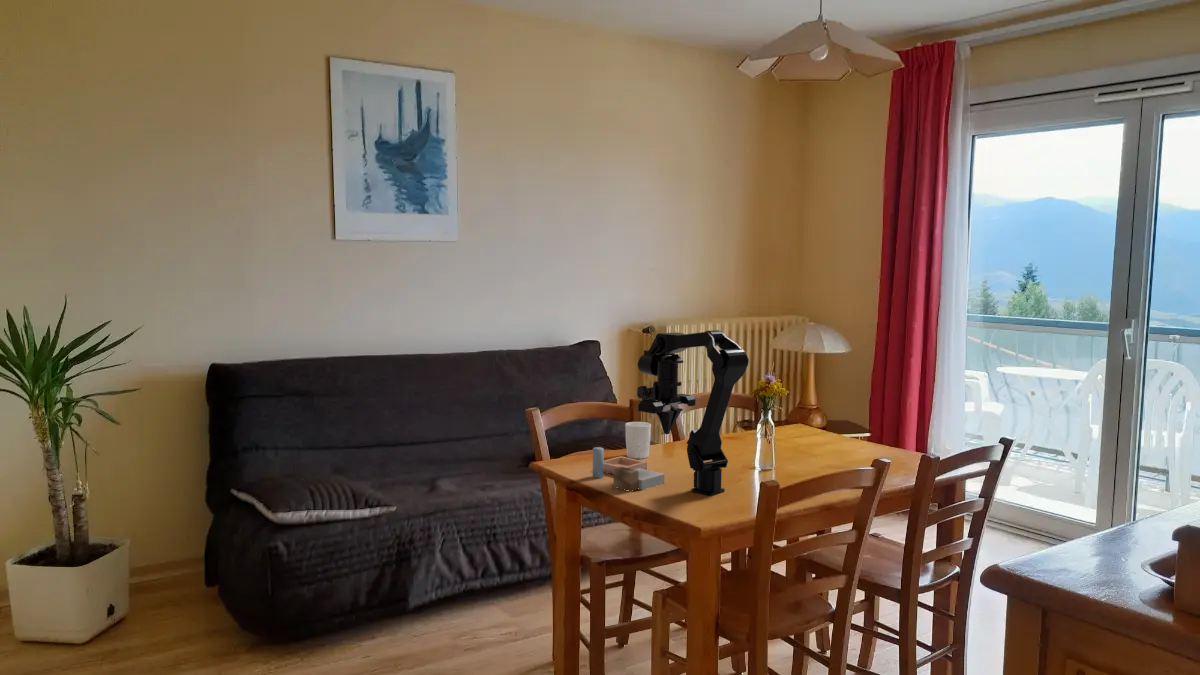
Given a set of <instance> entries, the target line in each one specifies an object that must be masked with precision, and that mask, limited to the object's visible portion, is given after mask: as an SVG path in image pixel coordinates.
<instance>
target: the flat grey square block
mask: <svg viewBox="0 0 1200 675" xmlns="http://www.w3.org/2000/svg"><path fill="white" fill-rule="evenodd" d="M634 470H638V488H639V489H638V490H640V489H642V490H641V491H643V489H644V490H647V489H646V488H648V489H650V488H649V487H651V488H654V487H653V486H655V487H657V486H656V485H658V486H661V485H664V484H665V473H662V472H657V471H652V470H649V469H647V470H645V469H641V468H638V469H634ZM660 484H661V485H660Z"/></svg>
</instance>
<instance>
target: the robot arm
mask: <svg viewBox="0 0 1200 675" xmlns="http://www.w3.org/2000/svg"><path fill="white" fill-rule="evenodd" d="M701 347H705V348H706V354H707V358H708V360H710V362H711V363H712V367H711V371H712V374H713V378H714V381H713V384H712V388H711V391H710V394H709V398H708V402H707V405H706V409H705V411H704V414H703V418H702V421H701V424H700V427H699V428H698V429H693V430H690V432H689V435H688V436H689V437H688V440H687V442H686V444H687V446H686V452H687V458H688V463H689V464H688V465H689V468H690V469H692V470H693V488H691V489H690V491H692V492H695V493H698V494H702V495H707V496H713V495H717V494H720V493H722V492H725V491H726V490H725V488H723V487H722V470H723V468H727V466H728V462H729V460H728V459H727V456H726V455H725V452H724V451H723V449H722V442H723V441H722V438H721V435H720V431H721V428H722V424H723V421H724V419H725V415H726V411H727V408H728V405H729V402H730V399H731V396H732V394H733V393H732V392H733V389H734V386H735V384H736V383H737V382H738V381H739V380H741V379H742V377H743V376H744V374H745V372H746V370H747V368H748V366H749V359H750V358H749V357H748V355H747V353H746V351H745V350H744V349H743V348H742V347H741V346H740V344H738V343H737V342H735V341H733V340H732V339H731V338H729V337H728V336H727V335H726V334H725V333H724V332H723V331H721V330H718V329H714V330H706V331H703V332H702V331H701V332H694V333H687V334H685V333H683V332H676V331H675V332H660V333H659V332H658V333H656V334H655V338H654V339H653V341H652V343H651V345H650V347H649V349H645V350H643V354H642V355H641V356H640V357H639V359H638V361H637V368H638V370H639V372H640V373H642V374H645V375H649V376H655V377H657V378H656V381H653V383H652V387H651V386H650V387H647V385H641V386H638V387H637V391H636V394H637V395H636V396H637V397H638V399H641V400H639V402H638V403H637V411H638V412H641V413H642V412H643V413H648V414H656V416H658V419H659V421H660V424H661V427H662V430H663V433H664V435H669V434H670V432H672V429H673V427H674V424H676V421H677V419H678V417H679V416H680V414H681V412H684V411H683V410H684V409H683V408H680V405H687V407H694V406H696V398H695V396H694V395H693V394H687V393H678V392H679V387H680V386H682V381H679V364H684V360H683V359H682V357H681V356H680V355H679V354H678V353H682V352H684V351H686V350H687V349H689V348H691V349H692V348H701ZM717 347H719V348H720V349H718V348H717ZM706 461H707V462H706Z"/></svg>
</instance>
